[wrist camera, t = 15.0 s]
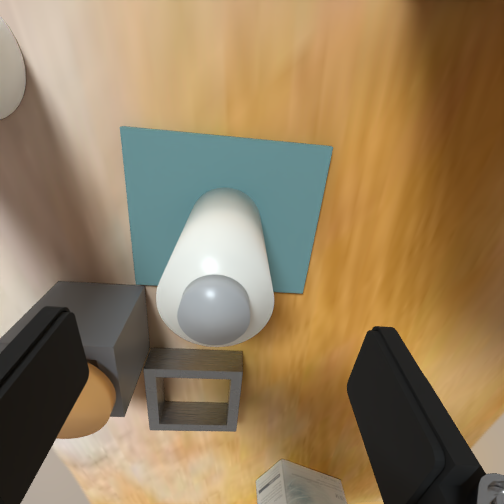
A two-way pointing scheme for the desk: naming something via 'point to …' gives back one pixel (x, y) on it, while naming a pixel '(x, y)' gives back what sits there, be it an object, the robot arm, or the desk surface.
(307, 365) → the desk surface
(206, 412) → the frame
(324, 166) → the pad
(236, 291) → the cylinder
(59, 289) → the plunger housing
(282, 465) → the skincare box
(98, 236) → the desk surface
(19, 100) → the cylindrical container
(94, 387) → the plunger
